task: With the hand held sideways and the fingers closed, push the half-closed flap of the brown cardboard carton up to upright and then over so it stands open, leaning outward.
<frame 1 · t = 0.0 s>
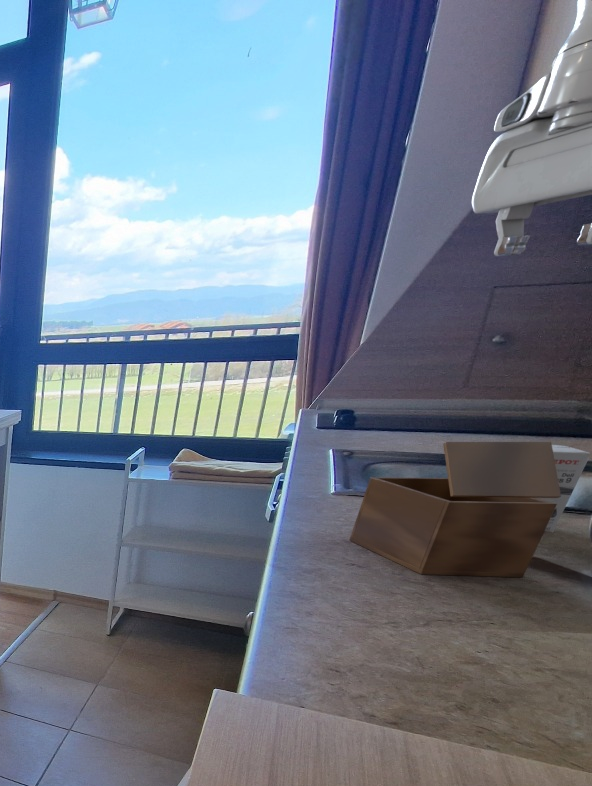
hand: (547, 250, 64), 33 cm above the countertop, tool pointing down, fingers open, 8 cm apart
ink box: (494, 536, 84), on the countertop
flap: (500, 469, 68), point 12 cm above the countertop, hinge at 55.0°
carton: (428, 557, 77), on the countertop
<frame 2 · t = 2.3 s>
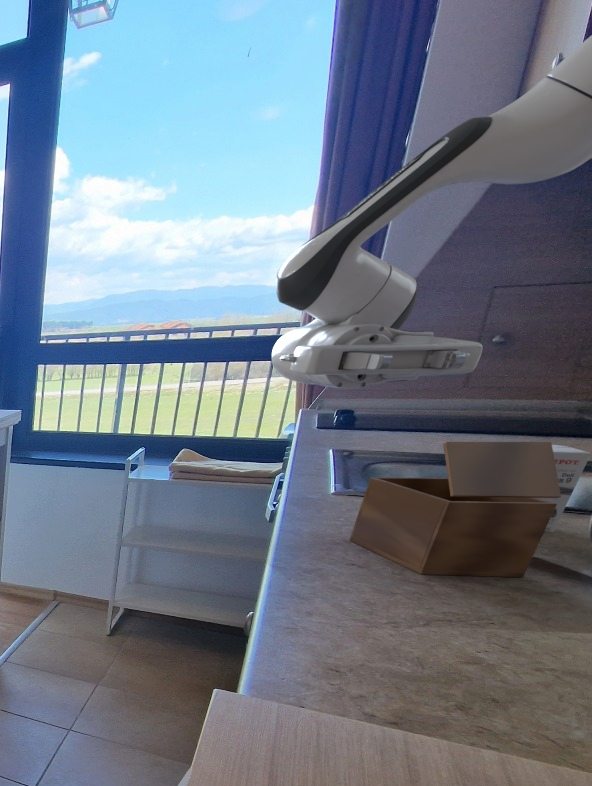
hand: (423, 361, 79), 22 cm above the countertop, tool horizontal, fingers open, 7 cm apart
nothing on the countertop moved.
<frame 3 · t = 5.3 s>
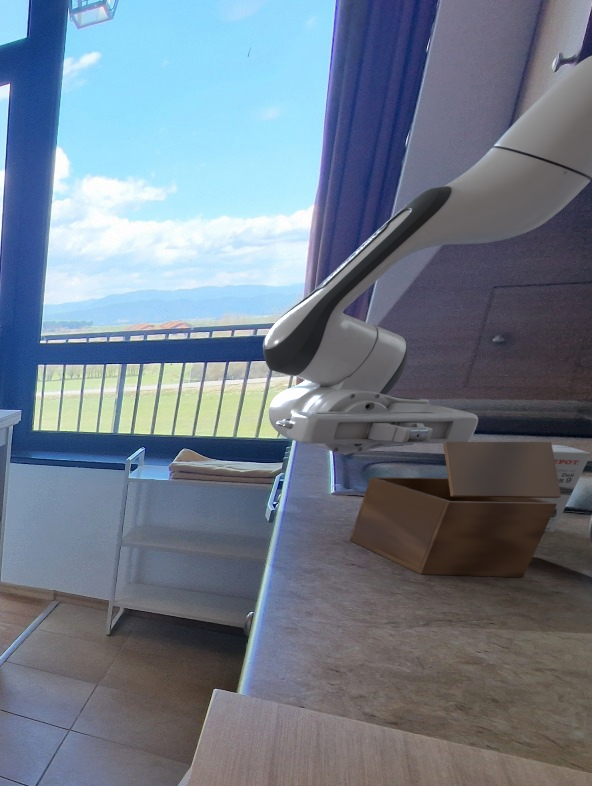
hand: (418, 435, 79), 13 cm above the countertop, tool horizontal, fingers closed
nothing on the countertop moved.
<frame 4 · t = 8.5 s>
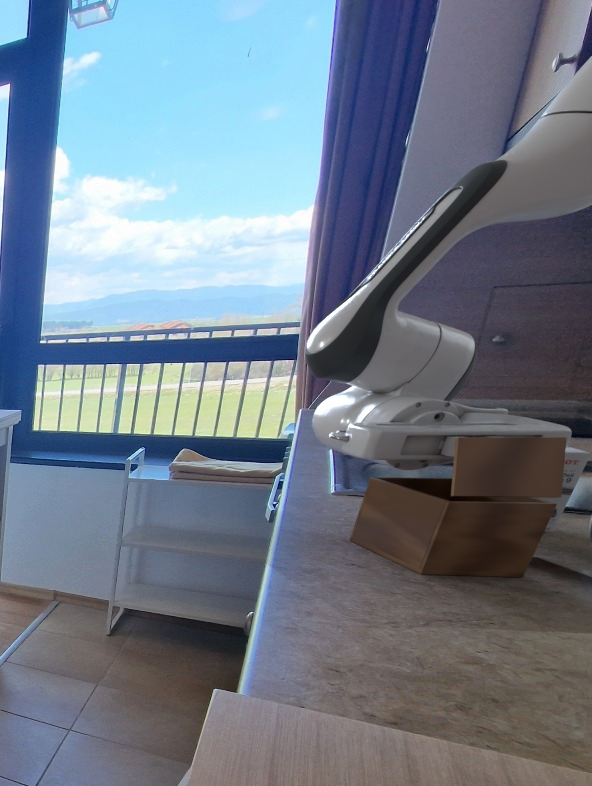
hand: (504, 452, 68), 14 cm above the countertop, tool horizontal, fingers closed
flap: (507, 467, 67), point 12 cm above the countertop, hinge at 69.1°, touching gripper
everything else where it was.
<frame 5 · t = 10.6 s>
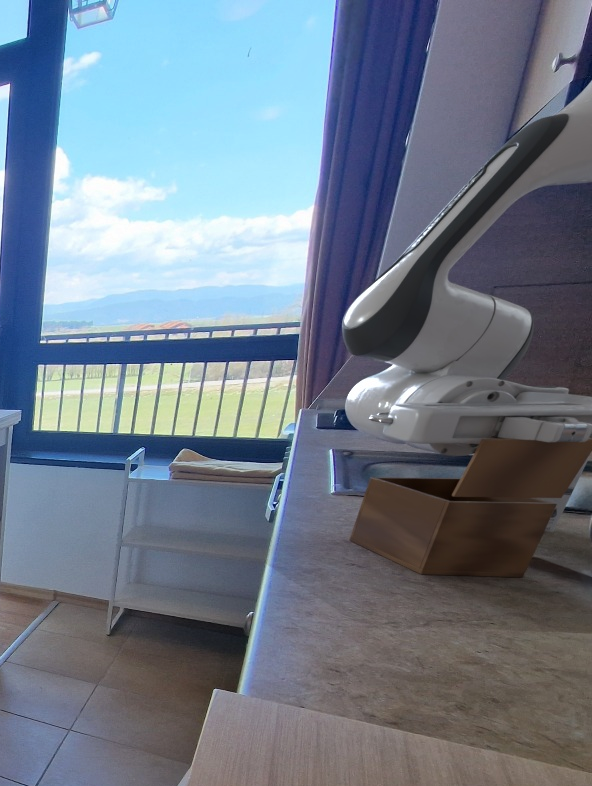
hand: (573, 433, 61), 16 cm above the countertop, tool horizontal, fingers closed
flap: (522, 468, 66), point 12 cm above the countertop, hinge at 99.3°, touching gripper
everything else where it was.
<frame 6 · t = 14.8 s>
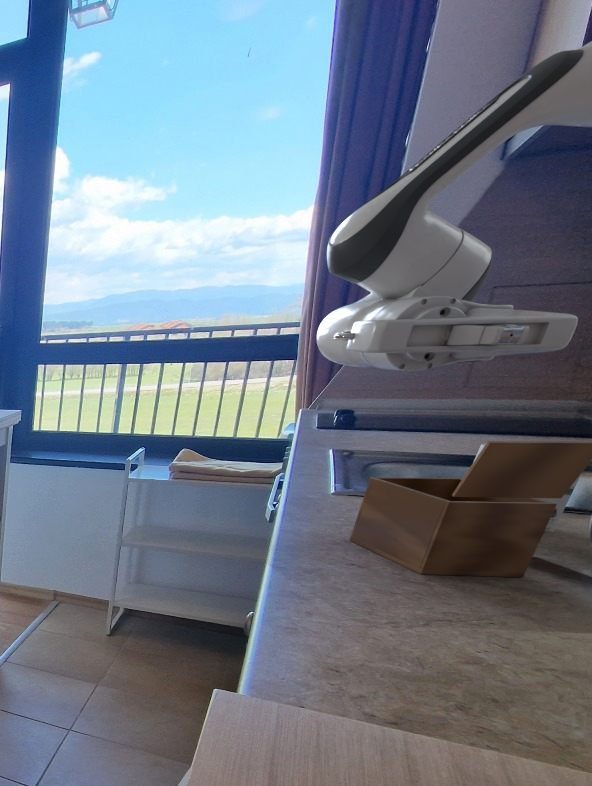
hand: (511, 335, 67), 25 cm above the countertop, tool horizontal, fingers closed
flap: (525, 470, 65), point 12 cm above the countertop, hinge at 105.9°
everything else where it was.
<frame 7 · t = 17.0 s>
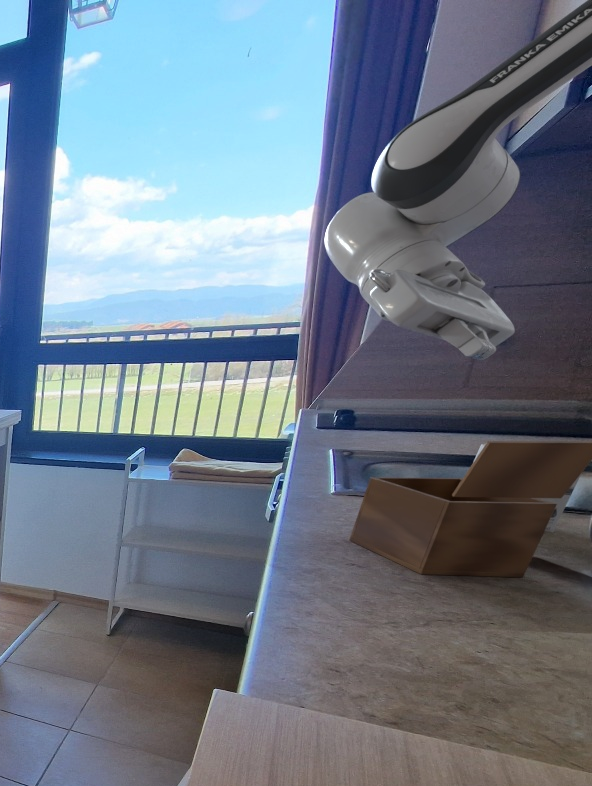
hand: (482, 354, 77), 23 cm above the countertop, tool tilted 55°, fingers closed
nothing on the countertop moved.
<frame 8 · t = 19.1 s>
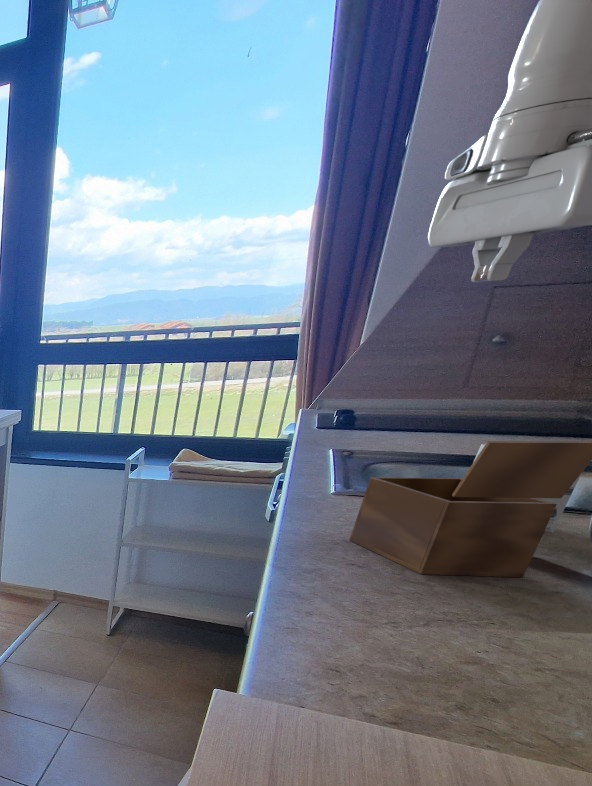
hand: (487, 281, 76), 31 cm above the countertop, tool pointing down, fingers closed
nothing on the countertop moved.
at the end: flap at +106° (first picture: +55°) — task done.
